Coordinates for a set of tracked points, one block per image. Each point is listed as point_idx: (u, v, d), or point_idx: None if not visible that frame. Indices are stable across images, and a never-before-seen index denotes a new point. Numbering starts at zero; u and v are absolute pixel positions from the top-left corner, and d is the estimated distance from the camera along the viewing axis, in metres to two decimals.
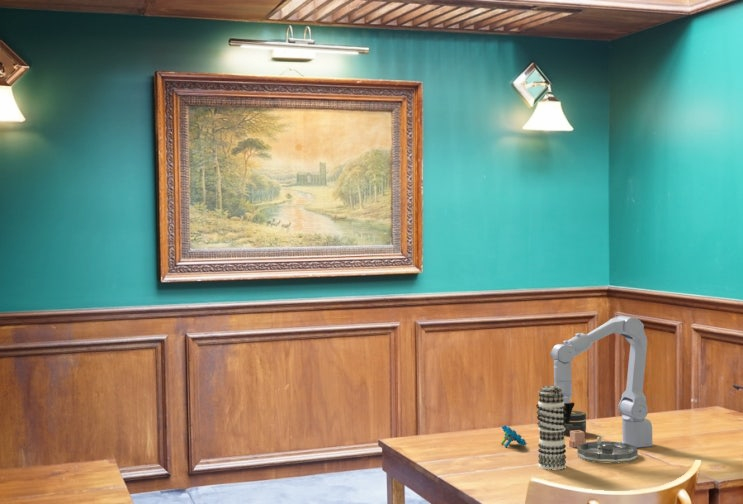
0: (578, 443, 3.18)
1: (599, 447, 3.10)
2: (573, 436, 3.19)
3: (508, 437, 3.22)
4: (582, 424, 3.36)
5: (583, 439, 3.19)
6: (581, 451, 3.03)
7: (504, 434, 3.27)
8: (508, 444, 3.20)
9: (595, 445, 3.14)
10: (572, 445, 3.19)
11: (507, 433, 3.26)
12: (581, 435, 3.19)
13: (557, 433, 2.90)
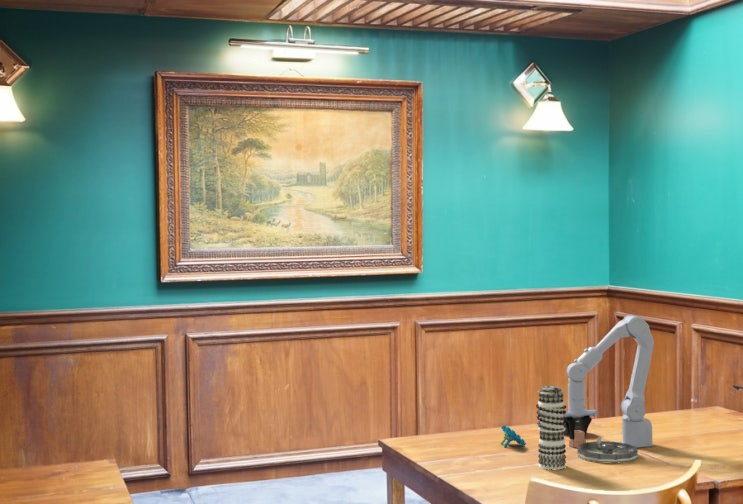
0: (578, 443, 3.18)
1: (599, 447, 3.10)
2: None
3: (507, 437, 3.22)
4: None
5: (583, 439, 3.19)
6: (581, 451, 3.03)
7: (504, 434, 3.27)
8: (507, 444, 3.20)
9: (595, 445, 3.14)
10: (572, 445, 3.19)
11: (507, 433, 3.26)
12: (581, 435, 3.19)
13: (557, 433, 2.90)
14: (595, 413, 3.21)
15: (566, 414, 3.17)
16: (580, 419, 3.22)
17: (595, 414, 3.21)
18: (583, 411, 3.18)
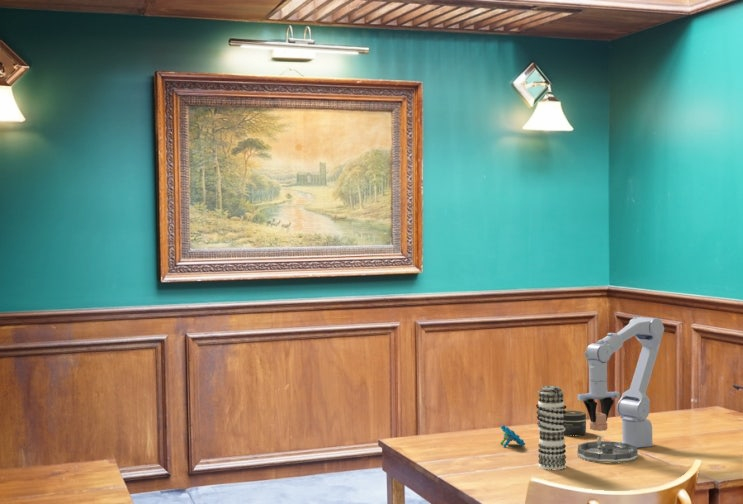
0: (600, 426, 3.08)
1: (599, 447, 3.10)
2: None
3: (507, 437, 3.22)
4: (582, 424, 3.36)
5: (605, 422, 3.09)
6: (581, 451, 3.03)
7: (504, 434, 3.27)
8: (507, 444, 3.20)
9: (595, 445, 3.14)
10: (593, 428, 3.09)
11: (506, 433, 3.26)
12: (603, 418, 3.09)
13: (557, 433, 2.90)
14: (617, 395, 3.11)
15: (587, 396, 3.07)
16: (601, 401, 3.12)
17: (617, 396, 3.11)
18: (605, 393, 3.08)
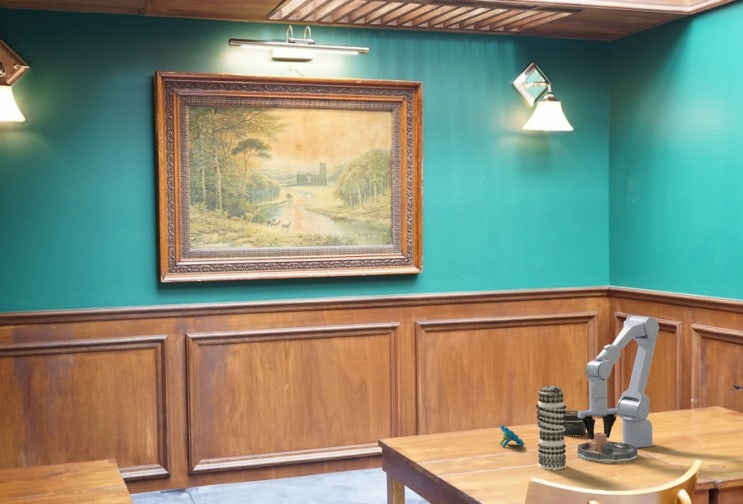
0: (600, 446, 3.08)
1: None
2: (595, 439, 3.09)
3: (506, 437, 3.22)
4: (582, 424, 3.36)
5: (605, 442, 3.09)
6: (581, 451, 3.03)
7: (503, 434, 3.27)
8: (506, 444, 3.21)
9: None
10: (594, 448, 3.09)
11: (506, 433, 3.26)
12: (603, 437, 3.09)
13: (557, 433, 2.90)
14: (617, 412, 3.11)
15: (588, 413, 3.08)
16: (604, 418, 3.12)
17: (617, 413, 3.11)
18: (605, 410, 3.08)
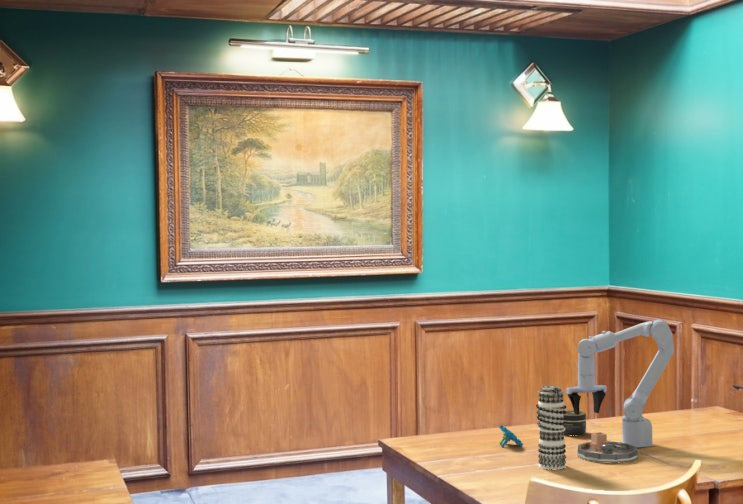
0: (600, 446, 3.08)
1: None
2: (595, 439, 3.09)
3: (505, 437, 3.22)
4: (582, 424, 3.36)
5: (605, 442, 3.09)
6: (581, 451, 3.03)
7: (503, 434, 3.27)
8: (504, 444, 3.21)
9: None
10: (594, 448, 3.09)
11: (506, 433, 3.26)
12: (603, 437, 3.09)
13: (557, 433, 2.90)
14: (604, 388, 3.24)
15: (576, 389, 3.21)
16: (594, 394, 3.26)
17: (604, 389, 3.24)
18: (593, 386, 3.21)
